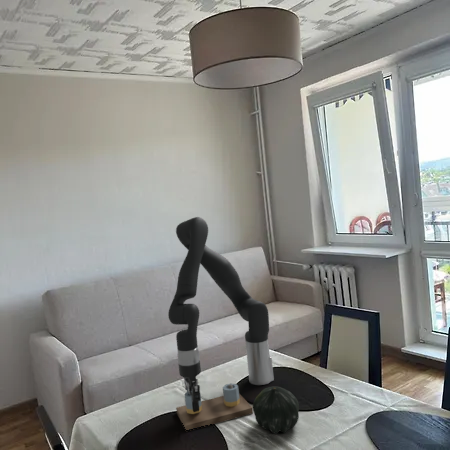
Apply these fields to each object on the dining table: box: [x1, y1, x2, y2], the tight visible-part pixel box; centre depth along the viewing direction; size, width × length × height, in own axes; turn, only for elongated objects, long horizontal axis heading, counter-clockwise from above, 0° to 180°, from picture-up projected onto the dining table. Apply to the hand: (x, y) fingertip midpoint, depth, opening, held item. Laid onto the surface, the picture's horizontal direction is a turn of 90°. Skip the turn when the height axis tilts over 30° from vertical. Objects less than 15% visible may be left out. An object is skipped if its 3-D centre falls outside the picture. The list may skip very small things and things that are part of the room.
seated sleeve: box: [222, 383, 240, 407], centre depth 160 cm, size 5×5×6 cm
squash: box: [252, 385, 300, 435], centre depth 144 cm, size 14×15×15 cm
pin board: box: [175, 383, 254, 431], centre depth 158 cm, size 24×14×9 cm, turn 109°
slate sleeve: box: [184, 390, 202, 414], centre depth 155 cm, size 5×5×6 cm
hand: (193, 407), depth 156 cm, fingers closed on slate sleeve, 5 cm apart
